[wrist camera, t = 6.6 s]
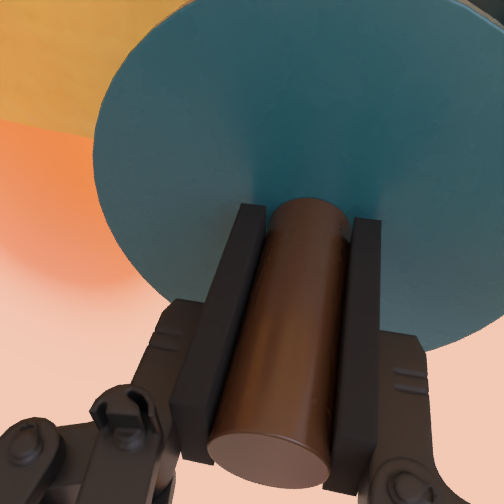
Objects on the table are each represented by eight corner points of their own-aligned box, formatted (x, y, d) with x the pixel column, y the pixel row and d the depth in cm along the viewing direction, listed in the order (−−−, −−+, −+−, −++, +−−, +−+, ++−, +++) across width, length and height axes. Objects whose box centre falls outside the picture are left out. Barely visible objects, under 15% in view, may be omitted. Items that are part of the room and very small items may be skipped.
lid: (145, 310, 22) (51, 506, 16) (51, -56, 12) (-310, 96, 6) (472, 364, 20) (509, 617, 14) (697, -29, 10) (1242, 265, 3)
